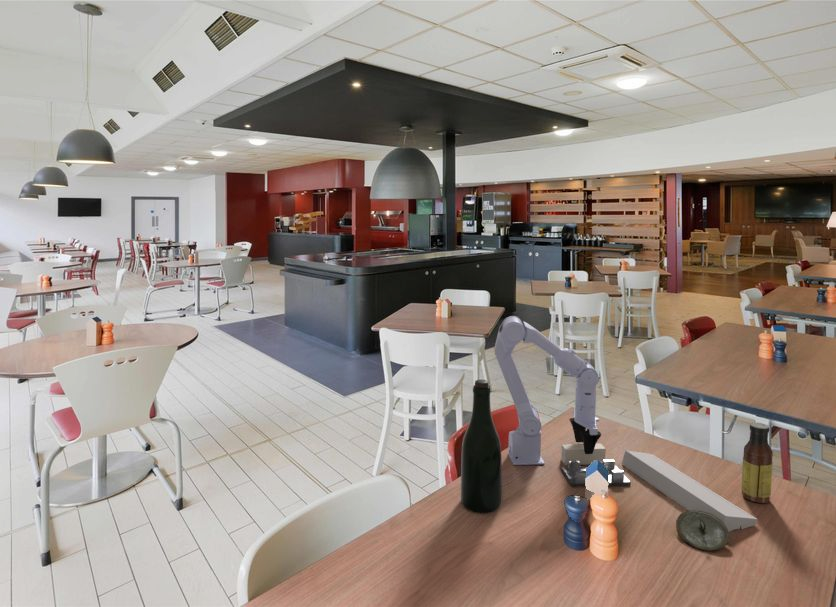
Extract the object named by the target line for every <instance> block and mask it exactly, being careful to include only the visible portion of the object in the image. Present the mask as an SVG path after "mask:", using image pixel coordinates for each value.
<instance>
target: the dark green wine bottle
mask: <svg viewBox="0 0 836 607" xmlns="http://www.w3.org/2000/svg"><path fill="white" fill-rule="evenodd" d="M491 393H492V389H491V386H490V385H489V381H488V380H487V379H477V380H475V381H474V385H473V386H472V411H471V415H470V420H469V423H468V426H467V429H466V430H465V433H464V435H463V438H462V444H461V460H460V461H461V463H460V465H461V466H460V501H461V504H462V506H463V507H464V509H465V510H467V511H470V512H472V513H476V514H491V513H493V512H496V511H497V510H499V509H500V507H501V505H502V502H503V498H502V497H503V496H502V495H503V494H502V492H503V478H502V477H503V474H502V473H503V472H502V470H503V469H502V465H503V464H502V462H503V460H502V458H503V457H502V446H501V441H500V436H499V433H498V432H497V429H496V427H495V423H494V420H493V416H492V411H491Z"/></svg>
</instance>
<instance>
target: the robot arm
mask: <svg viewBox="0 0 836 607" xmlns="http://www.w3.org/2000/svg"><path fill="white" fill-rule="evenodd" d="M522 341H523V343H524V344H527V343H528V344H529V343H532V344H534V345H536V346H537V347H538V348H540V349H542V350H543V351H545V352H546V353H547V354H549V355H550V356H551V357H552V358H553V359H554V361H553V362H554V364H555V365H556V366H558V367H559V368H560V369H562V370H563V371H565V373H567V374H568V375H569V376H571V377H574V378H576V379H577V380H576V385H575V386H576V387H575V402H574V403H575V404H574V406H575V407H574V409H572V411H573V412H572V414H573V417H571V418H569V419H568V420H569V422H570V425H571V427H572V429H573V433H574V435H573V436H574V439H575V440H574V441H575V442H576V443H582V444H584V452H585V454H593V451H594V448H595V445H596V443H597V442H598V440H600V438H601V437H602V433H601V431H598V430H599V429H598V428H597V423H598V422H600V418H598V417H597V416H596V412H597V411H596V409H597V408H596V404H597V385H598V384H599V383H600V376H599V374H598V371H597V370H596V369H595V368H594V366H593V365H592V364H591V363H590V362H588V361H587V359H583V358H581V357H579V356H578V355H577V354H576V351H575V350H574V349H573V348H570V349H569V348H567V347H563V348H562V347H559V346H558V345H556V344H555V343H554V342H553V341H552V340H550V339H549V338H548V337H547V336H545V335H544V334H543V333H542V332H541V331H539V330H538V329H537V328H535V327H533V325H531V324H529V323H528V322H526V321H524V320H523V321H522V320H521V319H520V318H519V317H518V316H515V315H510V316H508V317H506V318H504V319H503V320H502V323H501V324H500V326H499V327H498V332H497V336H496V340H495V344H494V348H493V350H494V355H495V358H496V361H497V362H498V365H499V368H500V370H501V373H502V376H503V378H504V381H505V382H506V386H507V388H508V391H509V393H510V396H511V398H512V401H513V404H514V406H515V408H516V409H515V410H516V413H517V418H518V423H519V424H518V425H517V427H516V430H512V431H509V433H508V450H507V454H508V456H509V460H510V461H511V464H512V465H513V466H528V465H529V466H530V465H545V464H546V463H545V460H544V458H542V455H541V453H542V452H541V448H542V446H541V444H542V422H541V420H540V417H539V412H538V410H537V409H536V407H535V406H533V404H532V402H531V400H530V398H529V396H528V392H527V390H526V388H525V384H524V383H523V382H524V381H523V380H522V378H521V375H520V373H519V370H518V367H517V364H516V362H515V360H514V357H513V354H512V353H513V351H514V349H515V348H516V346H517V345H518V344H519V343H521V342H522Z"/></svg>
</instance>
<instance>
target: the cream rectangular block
mask: <svg viewBox="0 0 836 607" xmlns="http://www.w3.org/2000/svg"><path fill="white" fill-rule="evenodd" d="M606 451H607V450H606V447H605V446H604V445H603V444H602V443H601V442H600V443H597V442H596V445H595V448H594V451H593V454H585V452H584V444H583V443H573V444H572V443H569V444H561V458H560V459H562V460H561V461H562V463H563V464H564V465H565V466H568V465H569V461H580V466H582V465H591V464H590V463H591V462H593V461H594V460H600V461H602V462H603V460H606V453H607V452H606Z"/></svg>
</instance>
